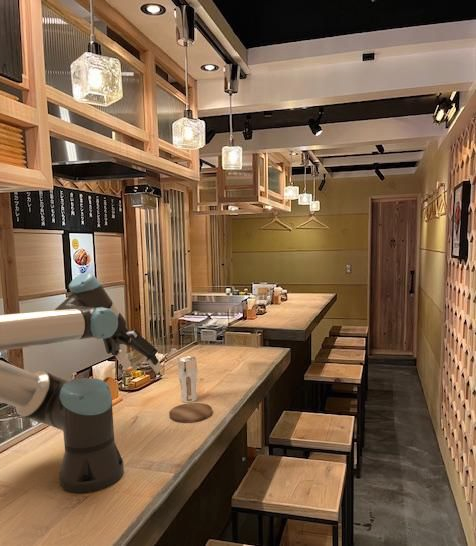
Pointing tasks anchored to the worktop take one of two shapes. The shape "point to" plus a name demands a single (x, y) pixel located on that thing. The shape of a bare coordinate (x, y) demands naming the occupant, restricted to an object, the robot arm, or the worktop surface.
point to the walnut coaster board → (190, 412)
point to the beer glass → (188, 378)
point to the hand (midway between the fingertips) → (143, 368)
